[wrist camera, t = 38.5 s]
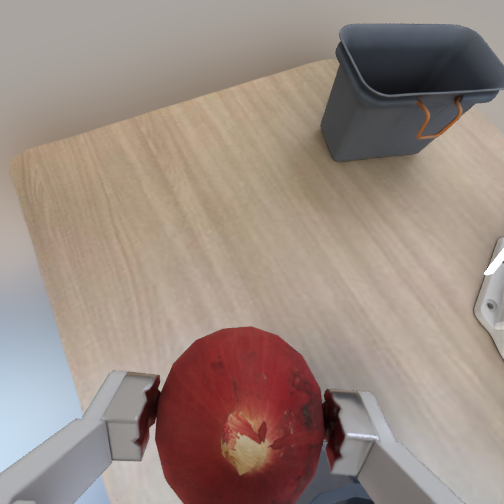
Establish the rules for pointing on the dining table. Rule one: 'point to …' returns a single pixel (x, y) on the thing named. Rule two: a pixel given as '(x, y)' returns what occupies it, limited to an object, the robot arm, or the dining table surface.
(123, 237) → the dining table surface
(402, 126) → the storage bin
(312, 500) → the pot
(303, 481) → the onion
